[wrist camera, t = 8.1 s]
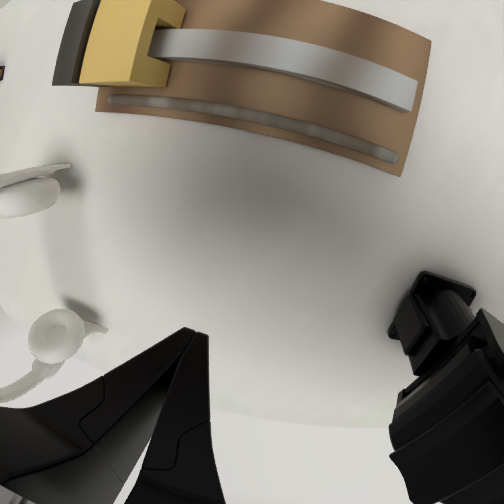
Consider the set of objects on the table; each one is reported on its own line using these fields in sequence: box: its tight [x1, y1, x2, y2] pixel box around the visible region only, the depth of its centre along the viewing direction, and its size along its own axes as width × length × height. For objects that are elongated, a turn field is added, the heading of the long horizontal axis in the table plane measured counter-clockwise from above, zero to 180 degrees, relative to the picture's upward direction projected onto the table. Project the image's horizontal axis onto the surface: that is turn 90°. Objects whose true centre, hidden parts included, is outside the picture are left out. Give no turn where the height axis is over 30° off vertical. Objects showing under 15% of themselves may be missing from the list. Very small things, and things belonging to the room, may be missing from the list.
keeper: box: [79, 0, 186, 88], centre depth 12 cm, size 4×6×4 cm, turn 167°
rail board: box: [52, 0, 431, 177], centre depth 12 cm, size 22×10×6 cm, turn 77°
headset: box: [0, 164, 108, 403], centre depth 16 cm, size 20×7×18 cm, turn 172°
